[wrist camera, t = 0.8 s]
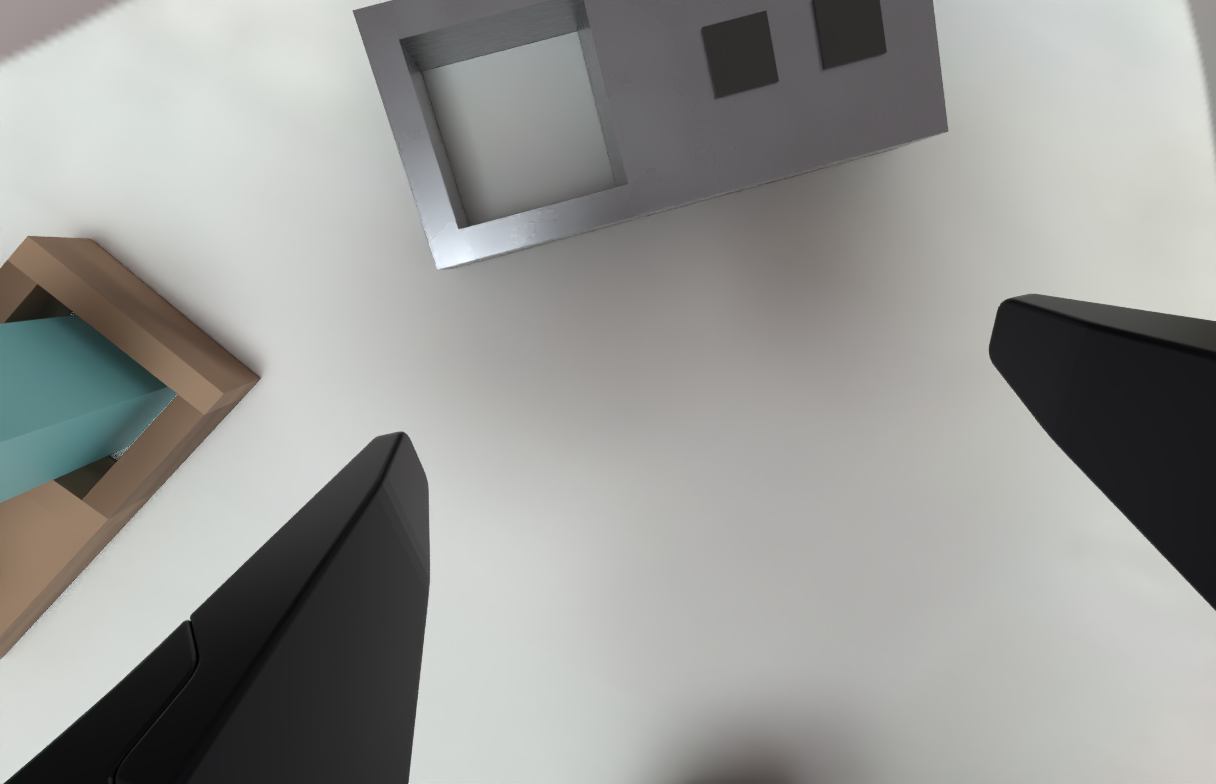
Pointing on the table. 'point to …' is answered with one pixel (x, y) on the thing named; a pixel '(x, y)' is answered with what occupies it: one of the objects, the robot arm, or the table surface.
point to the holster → (105, 489)
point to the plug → (67, 400)
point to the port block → (668, 97)
